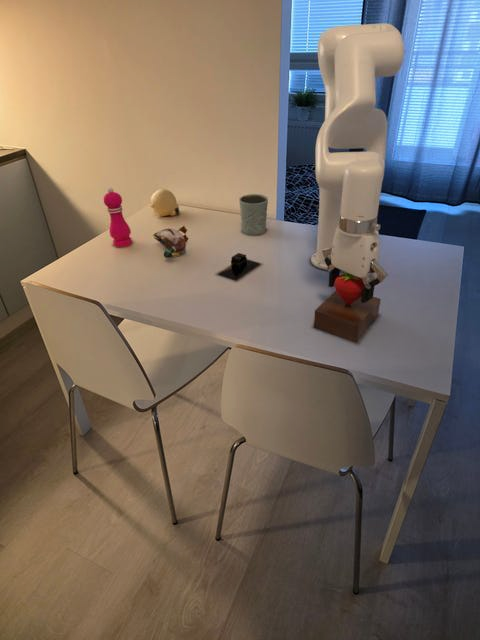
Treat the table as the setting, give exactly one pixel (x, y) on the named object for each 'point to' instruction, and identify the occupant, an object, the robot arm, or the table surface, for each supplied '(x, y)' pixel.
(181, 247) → the decorative duck model
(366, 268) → the robot arm
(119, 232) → the pepper mill
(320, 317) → the walnut block
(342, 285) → the strawberry
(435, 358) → the table surface
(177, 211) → the beige rounded lump
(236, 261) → the build plate
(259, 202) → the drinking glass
